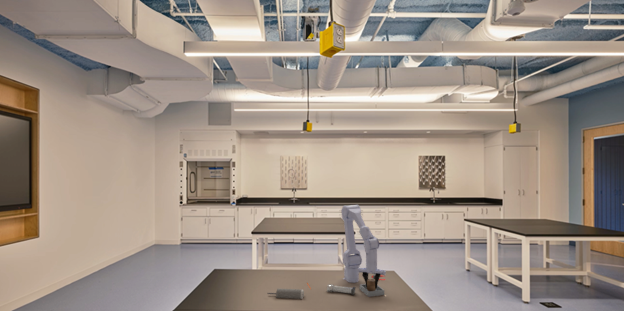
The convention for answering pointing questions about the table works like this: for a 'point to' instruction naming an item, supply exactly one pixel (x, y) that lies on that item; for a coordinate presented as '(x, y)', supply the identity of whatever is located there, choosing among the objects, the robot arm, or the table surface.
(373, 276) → the tow hook
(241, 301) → the table surface
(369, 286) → the block
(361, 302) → the table surface
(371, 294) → the tray
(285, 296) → the motor
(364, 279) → the robot arm
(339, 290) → the crank lever
